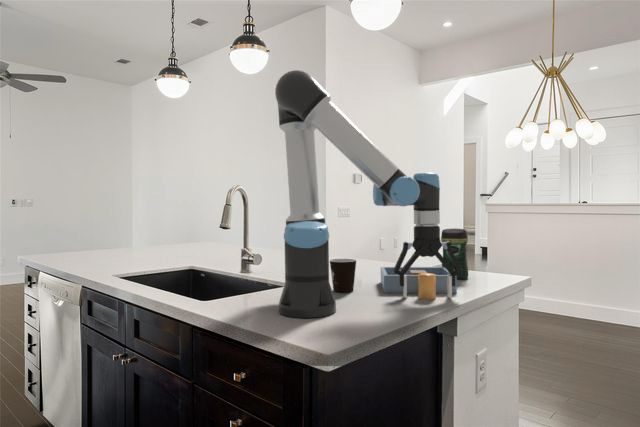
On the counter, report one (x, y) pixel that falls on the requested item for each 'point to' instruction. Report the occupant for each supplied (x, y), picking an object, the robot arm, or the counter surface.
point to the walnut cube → (416, 272)
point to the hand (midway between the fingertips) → (427, 297)
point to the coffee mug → (343, 275)
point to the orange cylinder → (427, 286)
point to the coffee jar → (456, 249)
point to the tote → (414, 280)
